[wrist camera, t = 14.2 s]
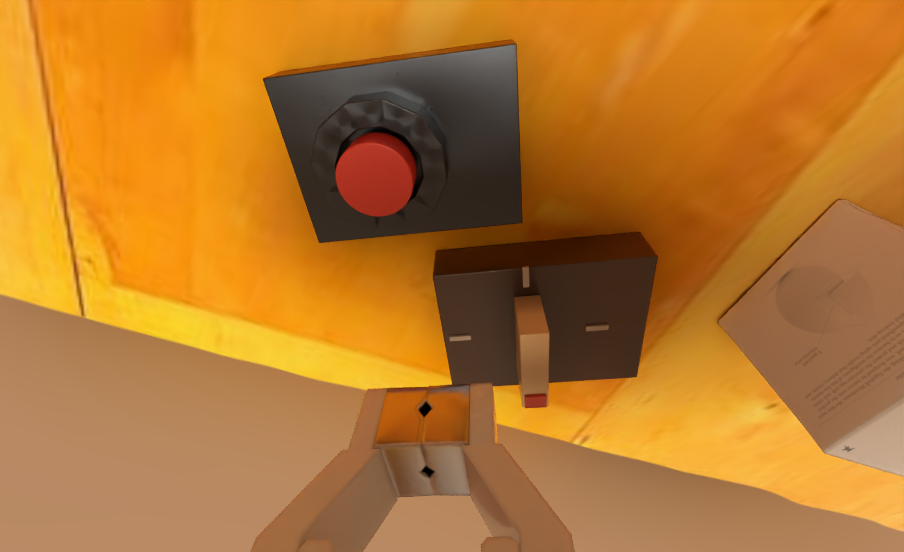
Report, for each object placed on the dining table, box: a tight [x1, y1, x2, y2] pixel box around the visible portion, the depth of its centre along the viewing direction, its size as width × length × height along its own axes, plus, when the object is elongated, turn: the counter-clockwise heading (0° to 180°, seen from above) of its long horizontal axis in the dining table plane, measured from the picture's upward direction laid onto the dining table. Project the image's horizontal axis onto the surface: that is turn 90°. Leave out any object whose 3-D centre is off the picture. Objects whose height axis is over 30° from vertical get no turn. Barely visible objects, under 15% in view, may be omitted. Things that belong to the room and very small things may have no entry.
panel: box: [433, 232, 658, 386], centre depth 28 cm, size 13×10×3 cm
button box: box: [263, 40, 522, 243], centre depth 22 cm, size 12×9×4 cm
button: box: [335, 132, 417, 216], centre depth 20 cm, size 4×4×2 cm
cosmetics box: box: [718, 200, 904, 476], centre depth 23 cm, size 10×6×10 cm, turn 158°
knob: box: [514, 295, 549, 408], centre depth 25 cm, size 6×2×4 cm, turn 7°
